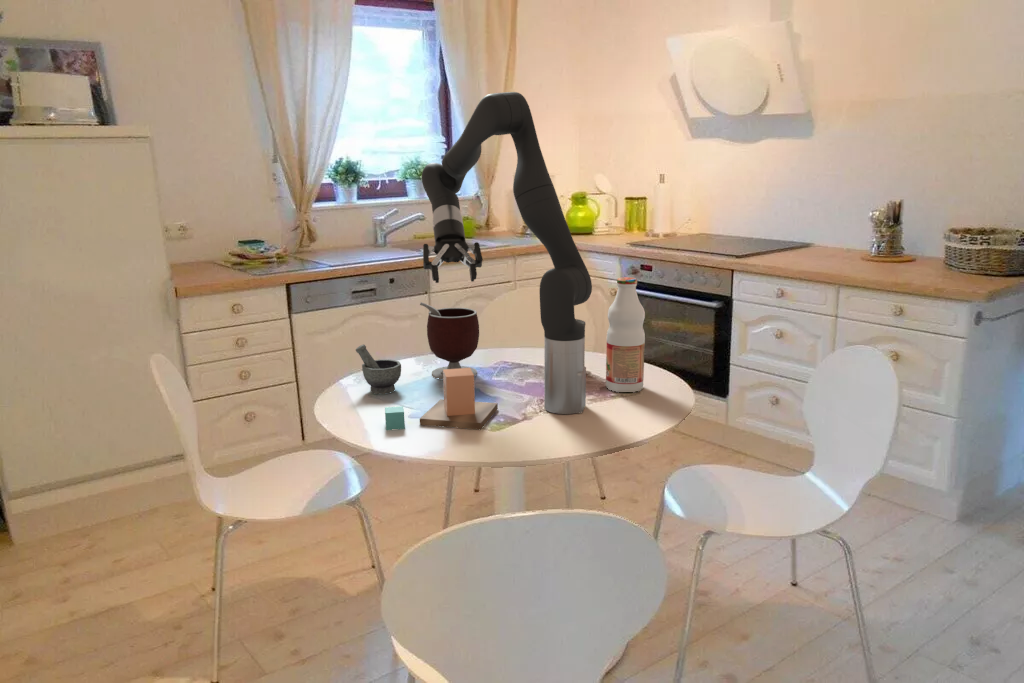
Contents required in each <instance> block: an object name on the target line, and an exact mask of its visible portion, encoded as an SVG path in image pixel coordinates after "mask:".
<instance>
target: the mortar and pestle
mask: <svg viewBox="0 0 1024 683" xmlns="http://www.w3.org/2000/svg"><path fill="white" fill-rule="evenodd" d="M355 353H357V354H358V356H359V357H360V359H361V360H362V362H363V363H362V364H361V370H362V375H363V377H364V379H365V380H364V381H366V383H367V384H368V385H369V386H370V392H371V394H374V393H375V395H386V394H385V393H388V394H391V393H390V392H392V393H394V392H395V391H396V387H395V384H396V383H397V382H398V381H399V379H400V378H401V374H402V364H401V362H400V361H399V360H394V359H376V360H375V359H374V358H373V356H372V355H371V353H370V352H369V351H368V349H367V346H366V344H361V345H359V346H358V347H356V349H355ZM394 390H395V391H394ZM393 391H394V392H393Z"/></svg>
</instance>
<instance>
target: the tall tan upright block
mask: <svg viewBox="0 0 1024 683" xmlns="http://www.w3.org/2000/svg"><path fill="white" fill-rule="evenodd" d="M442 381H443V383H442V384H443V400H444V408H445V411H446V414H447V416H453V415H467V414H475V402H476V398H475V397H476V396H475V377H474V374H473V372H472V370H471V369H470V368H459V369H444V370H443V380H442Z"/></svg>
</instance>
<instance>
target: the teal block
mask: <svg viewBox="0 0 1024 683" xmlns="http://www.w3.org/2000/svg"><path fill="white" fill-rule="evenodd" d="M384 414H385V416H384V417H385V418H384V419H385V420H384V421H385V430H386V431H393V430H392V429H398V430H406V426H405V425H406V424H405V423H406V421H405V408H404V406H403V405H400V406H388V407H387V406H385V407H384Z"/></svg>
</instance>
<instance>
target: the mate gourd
mask: <svg viewBox="0 0 1024 683" xmlns="http://www.w3.org/2000/svg"><path fill="white" fill-rule="evenodd" d="M419 306H423V307H424V308H425V309H427V310H428V316H427V323H426V333H427V334H426V335H427V336H426V337H427V340H428V341H427V342H428V345H429V349H430V351H431V352H432V353H433V355H434V356H435V357H436V358H438V359H442V360H443V361H447V362H448V364H447V366H441V367H438V368H435V369H433V370H432V371H431V377H432V376H433V377H432V378H434V377H435V378H434V379H436V378H439V379H443V370H444V369H459V368H470V369H471V370H472V372H473V374H474V376H475V375H476V374H477V375H478V371H477V369H476V368H474V367H471V366H466V365H465V366H463V365H461V364H460V362H461V361H463V360H466V359H468V358H470V357H471V356H473V354H474V353H475V352H476V350H477V348H478V345H479V340H480V323H479V316H478V314H477V310H476V309H472V308H467V307H447V308H445V307H444V308H435V307H434V306H432V305H430V304H427V303H424V302H421V301H420V304H419ZM477 375H476V376H477ZM476 376H475V377H476ZM439 379H438V380H439Z"/></svg>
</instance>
